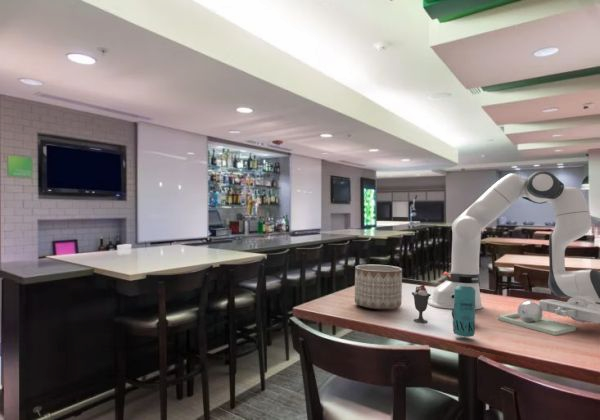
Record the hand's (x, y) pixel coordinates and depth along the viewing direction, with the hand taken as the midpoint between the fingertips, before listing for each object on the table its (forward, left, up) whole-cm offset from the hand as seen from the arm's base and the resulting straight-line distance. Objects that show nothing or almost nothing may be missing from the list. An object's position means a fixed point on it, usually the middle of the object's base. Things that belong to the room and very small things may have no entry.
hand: (560, 312), depth 126 cm
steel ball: (-5, +9, -3) cm, 11 cm away
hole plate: (-5, +9, -7) cm, 12 cm away
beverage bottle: (-35, -13, -7) cm, 38 cm away
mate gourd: (-30, +5, -7) cm, 31 cm away
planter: (-59, +23, -7) cm, 64 cm away
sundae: (-45, +4, -7) cm, 46 cm away
